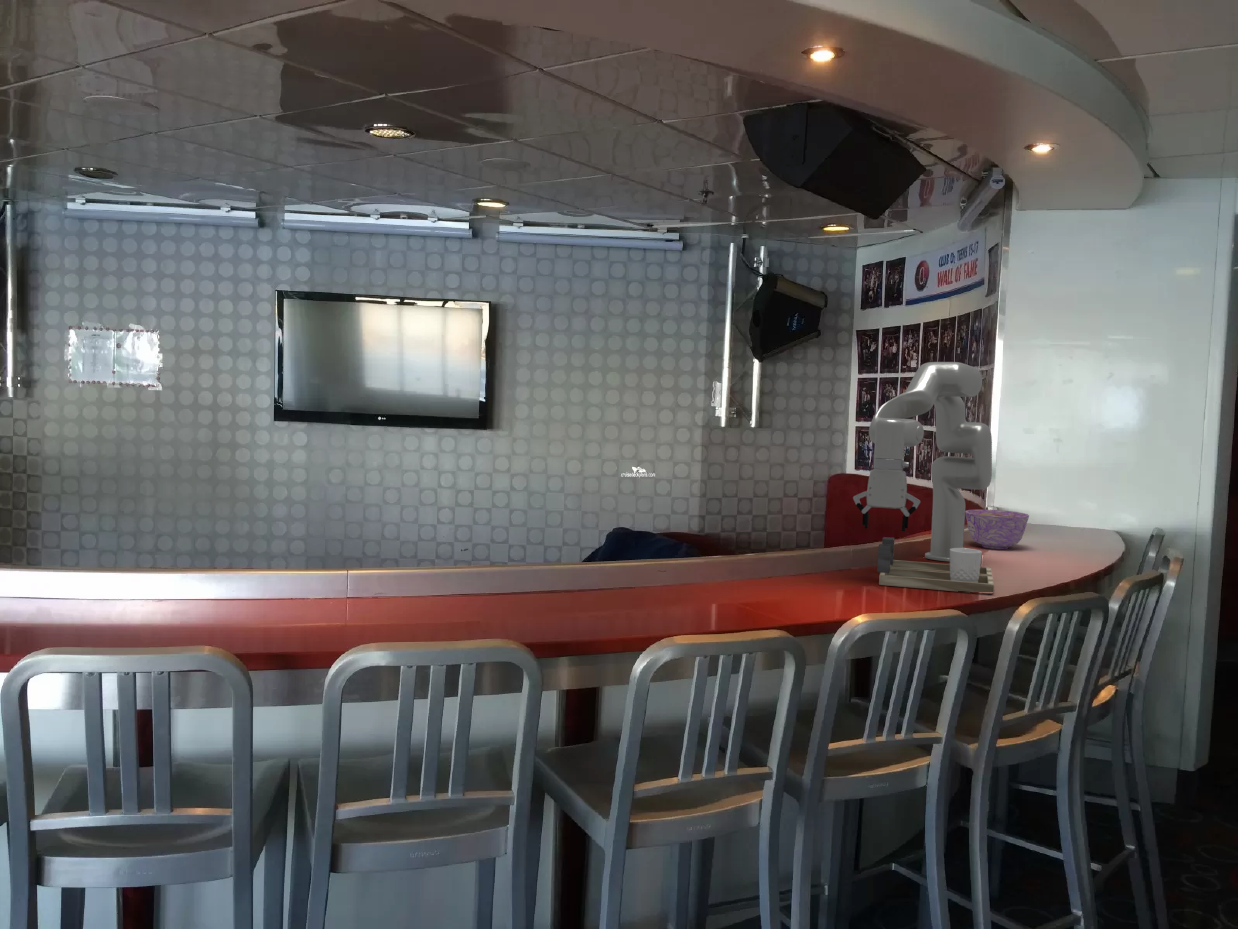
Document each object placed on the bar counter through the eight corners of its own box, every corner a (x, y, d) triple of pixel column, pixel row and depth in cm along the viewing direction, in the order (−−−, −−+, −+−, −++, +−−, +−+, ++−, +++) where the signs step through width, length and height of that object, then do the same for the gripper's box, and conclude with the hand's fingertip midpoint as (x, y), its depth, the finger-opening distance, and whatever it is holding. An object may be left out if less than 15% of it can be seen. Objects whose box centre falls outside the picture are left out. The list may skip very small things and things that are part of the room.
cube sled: (883, 567, 281) (884, 535, 280) (990, 576, 271) (992, 542, 271) (879, 575, 269) (881, 541, 268) (991, 584, 259) (993, 549, 258)
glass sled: (879, 576, 268) (880, 541, 267) (991, 585, 258) (993, 549, 257) (875, 584, 255) (877, 548, 255) (993, 594, 246) (995, 557, 245)
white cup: (975, 586, 258) (977, 548, 257) (983, 592, 250) (985, 553, 249) (944, 584, 259) (946, 547, 258) (951, 590, 251) (953, 552, 250)
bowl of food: (954, 546, 325) (955, 512, 324) (976, 540, 340) (977, 508, 340) (1015, 554, 312) (1017, 518, 311) (1035, 547, 327) (1037, 513, 327)
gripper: (922, 466, 259) (919, 530, 260) (856, 463, 265) (853, 525, 266) (921, 468, 252) (918, 533, 253) (853, 464, 258) (850, 528, 259)
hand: (884, 529), depth 260 cm, fingers open, 9 cm apart
